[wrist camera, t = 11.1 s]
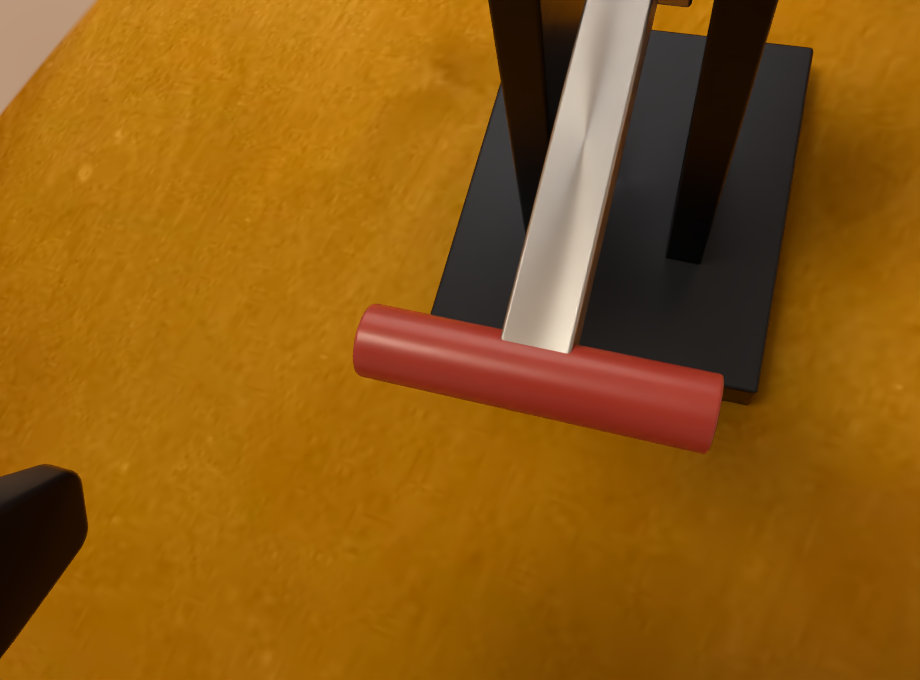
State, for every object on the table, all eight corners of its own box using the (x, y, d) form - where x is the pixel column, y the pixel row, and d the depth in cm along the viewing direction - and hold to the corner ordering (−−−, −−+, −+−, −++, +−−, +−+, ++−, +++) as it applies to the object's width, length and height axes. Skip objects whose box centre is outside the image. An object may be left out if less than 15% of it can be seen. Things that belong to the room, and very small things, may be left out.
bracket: (749, 406, 22) (937, 126, 10) (433, 340, 24) (282, 41, 12) (804, 73, 25) (994, -432, 13) (523, 39, 27) (473, -426, 15)
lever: (699, 463, 13) (718, 443, 11) (377, 389, 14) (332, 357, 12) (808, -110, 15) (843, -228, 13) (523, -130, 16) (509, -242, 14)
